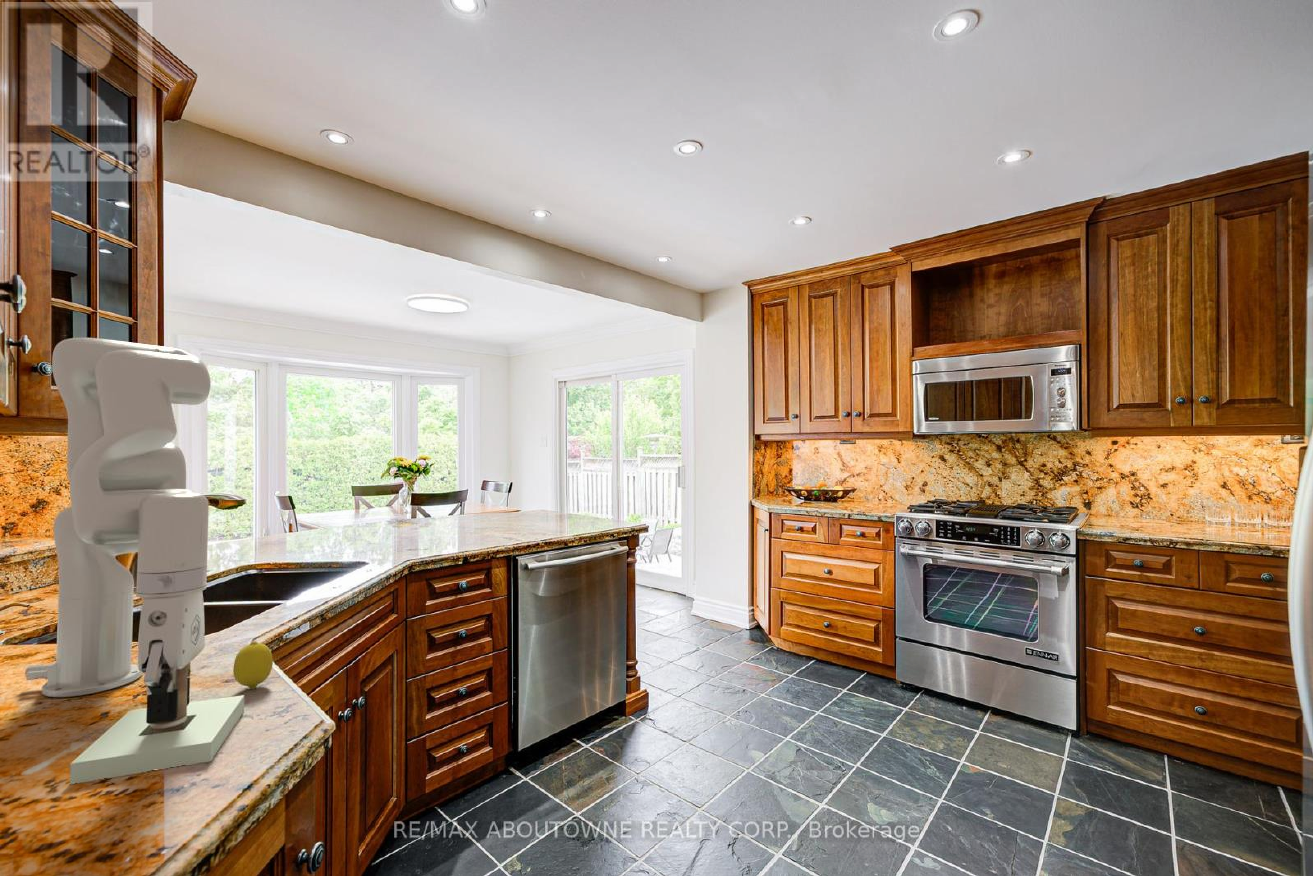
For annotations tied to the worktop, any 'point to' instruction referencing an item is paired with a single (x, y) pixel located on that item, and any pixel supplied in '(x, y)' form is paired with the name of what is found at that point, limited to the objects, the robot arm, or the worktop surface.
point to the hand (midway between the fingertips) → (168, 713)
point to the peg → (182, 703)
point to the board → (158, 742)
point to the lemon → (253, 664)
